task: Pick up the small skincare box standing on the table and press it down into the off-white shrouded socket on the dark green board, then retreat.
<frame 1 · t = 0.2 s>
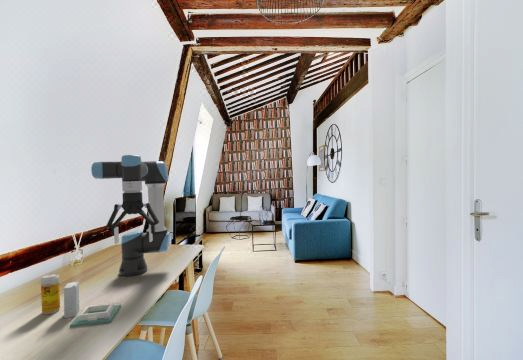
hand: (134, 242, 116), 28 cm above the table, fingers open, 13 cm apart
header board: (97, 316, 110), on the table
skincare box: (72, 314, 112), on the table
beer can: (51, 311, 115), on the table
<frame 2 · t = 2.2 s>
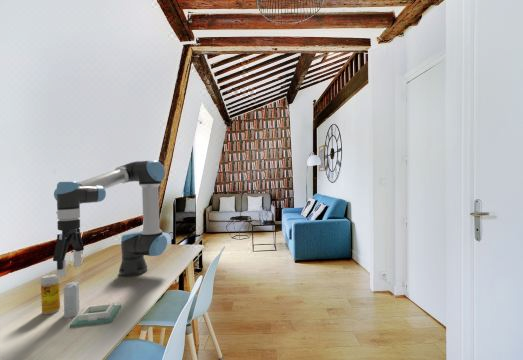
hand: (70, 271, 112), 17 cm above the table, fingers open, 13 cm apart
nothing on the table moved.
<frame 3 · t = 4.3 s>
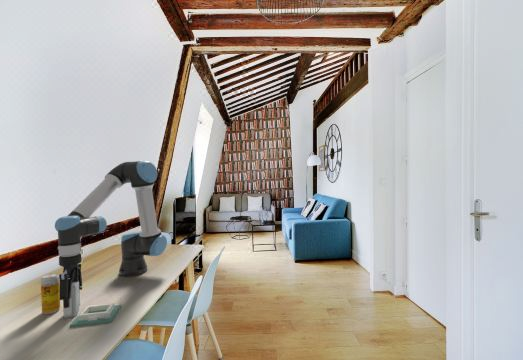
hand: (72, 310, 112), 2 cm above the table, fingers closed on skincare box, 7 cm apart
skincare box: (72, 314, 112), on the table, touching gripper
everything else where it was.
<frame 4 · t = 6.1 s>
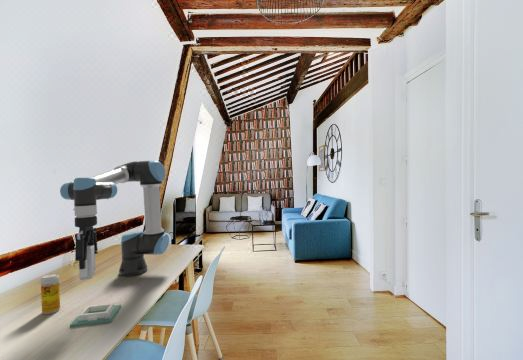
hand: (87, 273, 110), 17 cm above the table, fingers closed on skincare box, 7 cm apart
skincare box: (87, 277, 110), point 15 cm above the table, touching gripper
everything else where it was.
when the fingers open (4 cm above the table, at t = 8.2 s): skincare box stays where it is, resting on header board.
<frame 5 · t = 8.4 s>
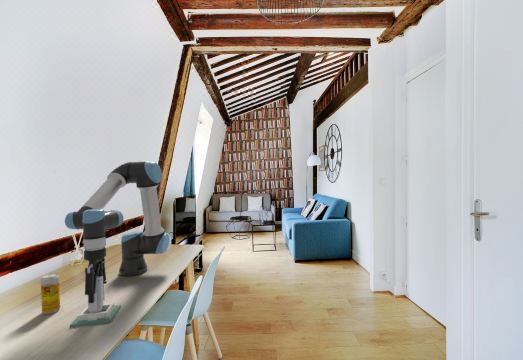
hand: (96, 305, 110), 5 cm above the table, fingers open, 8 cm apart
skincare box: (96, 309, 110), point 3 cm above the table, touching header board
everything else where it was.
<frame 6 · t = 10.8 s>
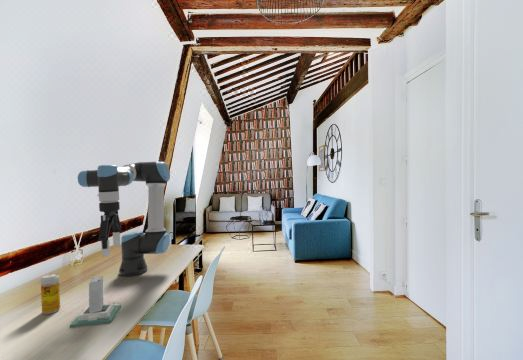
hand: (111, 251, 117), 24 cm above the table, fingers open, 13 cm apart
nothing on the table moved.
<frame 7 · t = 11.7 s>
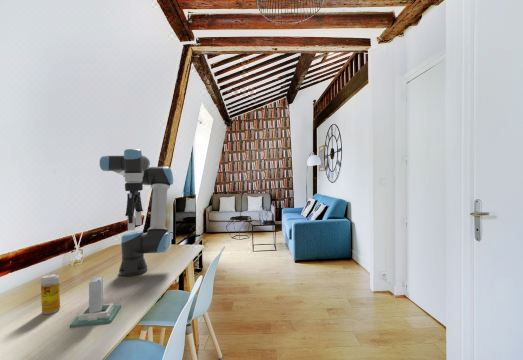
hand: (135, 227, 129), 32 cm above the table, fingers open, 13 cm apart
nothing on the table moved.
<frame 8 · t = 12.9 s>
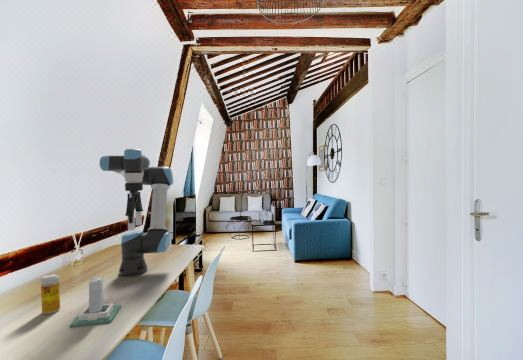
hand: (135, 227, 129), 32 cm above the table, fingers open, 13 cm apart
nothing on the table moved.
at the end: skincare box inside the target area on the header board (0.1 cm from its centre), point 2.8 cm above the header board's base; skincare box touching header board; skincare box tilted 0° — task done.
